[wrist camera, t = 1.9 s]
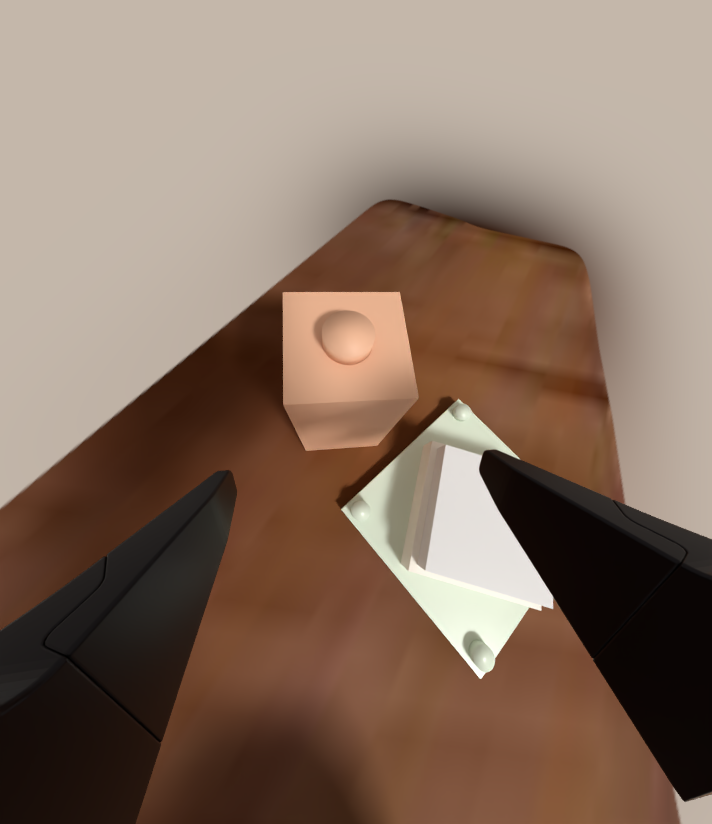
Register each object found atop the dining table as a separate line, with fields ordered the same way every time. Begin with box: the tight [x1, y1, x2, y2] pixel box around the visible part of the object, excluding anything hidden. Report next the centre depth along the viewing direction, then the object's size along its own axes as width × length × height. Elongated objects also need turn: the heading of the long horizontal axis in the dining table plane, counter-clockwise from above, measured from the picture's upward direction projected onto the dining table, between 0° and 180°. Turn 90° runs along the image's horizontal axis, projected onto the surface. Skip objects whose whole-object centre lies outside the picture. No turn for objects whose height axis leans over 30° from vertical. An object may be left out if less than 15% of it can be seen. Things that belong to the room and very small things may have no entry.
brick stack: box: [400, 441, 553, 610], centre depth 18 cm, size 9×9×4 cm
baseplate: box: [341, 399, 529, 679], centre depth 20 cm, size 14×14×2 cm
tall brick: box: [283, 292, 419, 451], centre depth 17 cm, size 6×6×12 cm
